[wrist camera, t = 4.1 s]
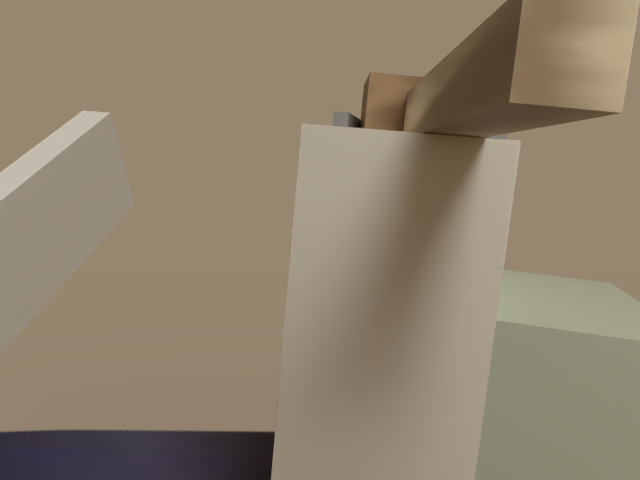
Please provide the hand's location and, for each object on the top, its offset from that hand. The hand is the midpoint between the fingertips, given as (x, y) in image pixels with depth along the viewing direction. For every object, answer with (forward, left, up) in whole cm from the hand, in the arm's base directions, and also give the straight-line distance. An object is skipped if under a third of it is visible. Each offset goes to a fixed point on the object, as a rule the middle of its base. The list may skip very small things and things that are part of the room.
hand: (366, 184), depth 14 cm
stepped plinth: (+5, +25, -27) cm, 37 cm away
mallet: (+2, +17, +2) cm, 17 cm away
